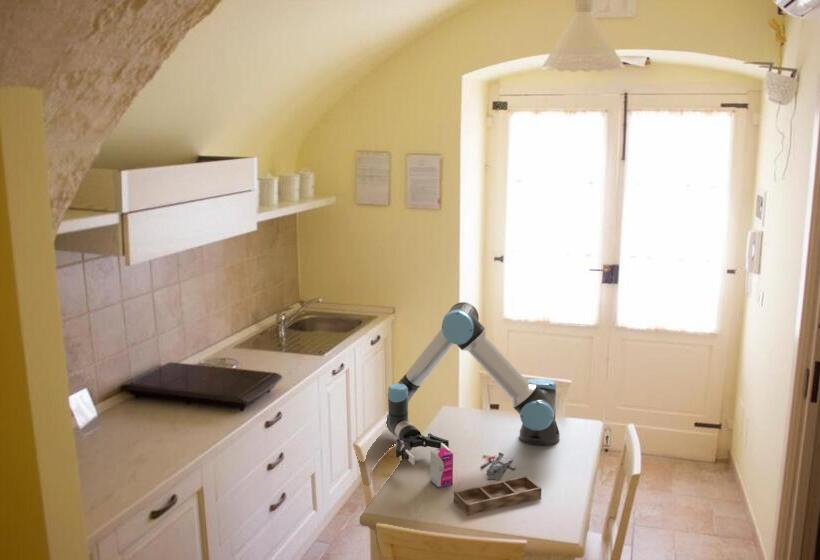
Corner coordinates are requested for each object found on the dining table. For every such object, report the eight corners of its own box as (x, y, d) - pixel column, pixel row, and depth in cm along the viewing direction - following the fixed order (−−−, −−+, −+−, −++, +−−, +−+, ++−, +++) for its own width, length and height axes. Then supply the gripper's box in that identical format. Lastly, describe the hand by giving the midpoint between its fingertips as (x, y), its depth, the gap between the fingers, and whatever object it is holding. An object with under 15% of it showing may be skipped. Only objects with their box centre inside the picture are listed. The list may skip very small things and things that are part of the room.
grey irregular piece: (498, 483, 262) (498, 477, 261) (479, 479, 265) (479, 474, 264) (516, 459, 280) (517, 454, 280) (499, 456, 283) (499, 451, 282)
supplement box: (438, 488, 257) (438, 457, 255) (429, 481, 263) (429, 450, 260) (453, 484, 260) (453, 453, 258) (444, 477, 265) (444, 446, 263)
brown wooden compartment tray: (525, 485, 259) (525, 475, 258) (541, 498, 250) (541, 488, 249) (453, 501, 249) (453, 491, 248) (467, 515, 240) (467, 505, 239)
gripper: (438, 438, 291) (464, 460, 272) (376, 449, 281) (398, 474, 262) (438, 419, 289) (464, 441, 270) (376, 430, 280) (397, 453, 261)
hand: (431, 457), depth 266 cm, fingers open, 13 cm apart
